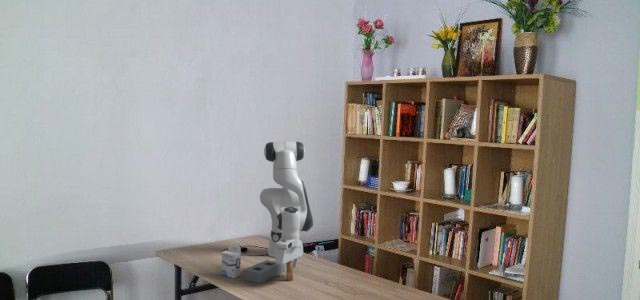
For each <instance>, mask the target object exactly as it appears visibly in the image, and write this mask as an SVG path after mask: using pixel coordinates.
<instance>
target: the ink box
mask: <svg viewBox="0 0 640 300" xmlns="http://www.w3.org/2000/svg"><path fill="white" fill-rule="evenodd" d="M227 249H228V250H224V251H221V276H224V277H228V278H230V279H231V278H233V279H236V278H239V277H240V276H241V258H242V257H241V256H242V253H241V251H242V250H241V249H242V247H241V246H240V245H239V246H238V245H235V244H229V243H228V248H227Z"/></svg>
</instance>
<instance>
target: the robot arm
mask: <svg viewBox="0 0 640 300" xmlns="http://www.w3.org/2000/svg"><path fill="white" fill-rule="evenodd" d="M305 154H306V149H305V146H304V144H303V142H300V141H290V140H288V141H287V140H285V141H274V142H273V141H270V142H267V143H266V144H265V145H264V149H263V155H264V157H265V160H267V162H271V163H272V166H273V167H272V178H273V181H274V183H276V184H277V185H279V186H281V187H269V188H263V189H262V191H260V194H259V202H260V203H261V205H262V206H263V207H265V209H267V211H268V212H269V214H270V218H271V230H270V238H269V240H268V248H267V250H266V253H267V254H268V256H269V257H272V258H275V262H276V263H277V264H281V267H282V272H283V273H287V268H286V266H285V265H286V263H287V262H290V261H292V262H293V268H297V266H298V262H299V258H301V257H302V256H303V255H304V244H303V241H302V239H301V238H300V237H301V236H300V232H308V231H310V230H311V229H312V228H313V227H314V219H313V215H312V211H311V208H310V201H309V198H308V193H307V190H306V185H305V183H304V181H303V180H302V179H300V177H299V175H298V167H297V166H298V165H297V162H299V161H301V160H303V159H304V156H305ZM298 207H300V209H301V211H300V210H299V208H298ZM281 208H284V209H283V211H282V209H281Z"/></svg>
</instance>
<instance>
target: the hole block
mask: <svg viewBox="0 0 640 300" xmlns="http://www.w3.org/2000/svg"><path fill="white" fill-rule="evenodd" d="M283 273H284V272H282V267H281V264H277V263H276V260H268V259H265V260H263V261H261V262H259V263H256V264H253V265H251V266H249V267H246V268H244V269H243V271H242V280H243V281H246V282H251V283H256V284H262V283H265V282H266V281H268V280H270V279H272V278H274V277H276V276H279V275H280V274H283Z"/></svg>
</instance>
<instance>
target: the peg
mask: <svg viewBox="0 0 640 300" xmlns="http://www.w3.org/2000/svg"><path fill="white" fill-rule="evenodd" d="M293 262H294V261H293V260H292V261H290V262H287V271H286V282H292V281H293V276H294V273H293V272H294V267H293Z"/></svg>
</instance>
